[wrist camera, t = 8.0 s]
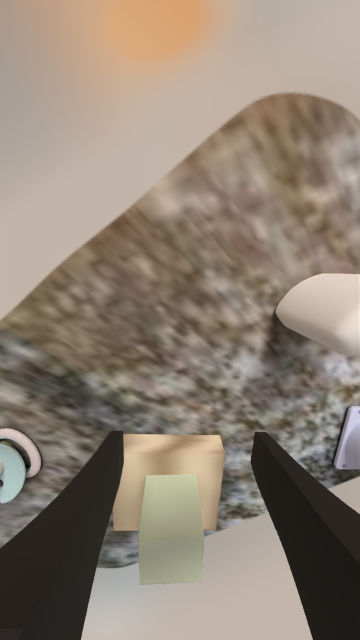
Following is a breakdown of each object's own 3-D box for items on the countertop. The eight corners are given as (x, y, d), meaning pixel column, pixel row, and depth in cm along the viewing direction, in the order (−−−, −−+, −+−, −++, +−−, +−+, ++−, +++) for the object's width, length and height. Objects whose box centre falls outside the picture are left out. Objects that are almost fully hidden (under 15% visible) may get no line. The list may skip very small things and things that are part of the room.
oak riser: (218, 431, 23) (225, 454, 20) (210, 499, 25) (215, 529, 22) (118, 430, 22) (111, 454, 19) (120, 500, 25) (113, 530, 22)
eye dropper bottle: (332, 317, 20) (568, 385, 8) (274, 328, 20) (424, 413, 8) (331, 271, 19) (602, 271, 7) (270, 283, 19) (435, 304, 7)
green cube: (196, 474, 20) (204, 537, 16) (195, 511, 22) (201, 581, 17) (146, 475, 20) (137, 540, 15) (147, 513, 21) (140, 584, 17)
